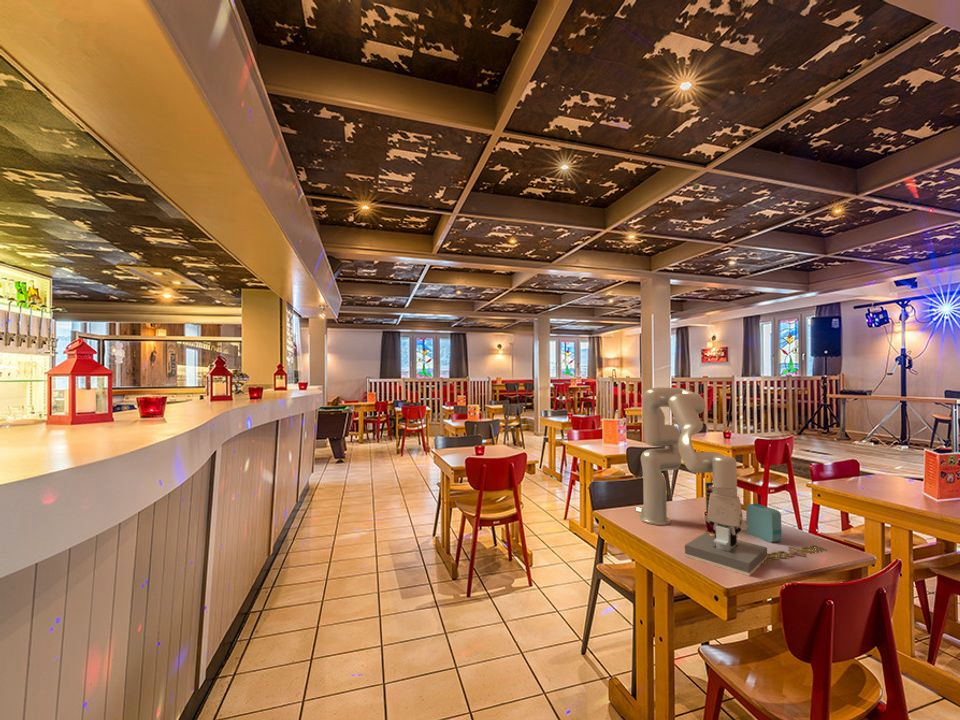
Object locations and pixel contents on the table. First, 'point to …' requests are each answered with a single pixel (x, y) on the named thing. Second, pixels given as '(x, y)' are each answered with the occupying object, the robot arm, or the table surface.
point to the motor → (708, 494)
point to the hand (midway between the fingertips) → (725, 542)
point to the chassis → (727, 554)
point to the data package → (764, 522)
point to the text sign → (791, 553)
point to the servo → (723, 538)
